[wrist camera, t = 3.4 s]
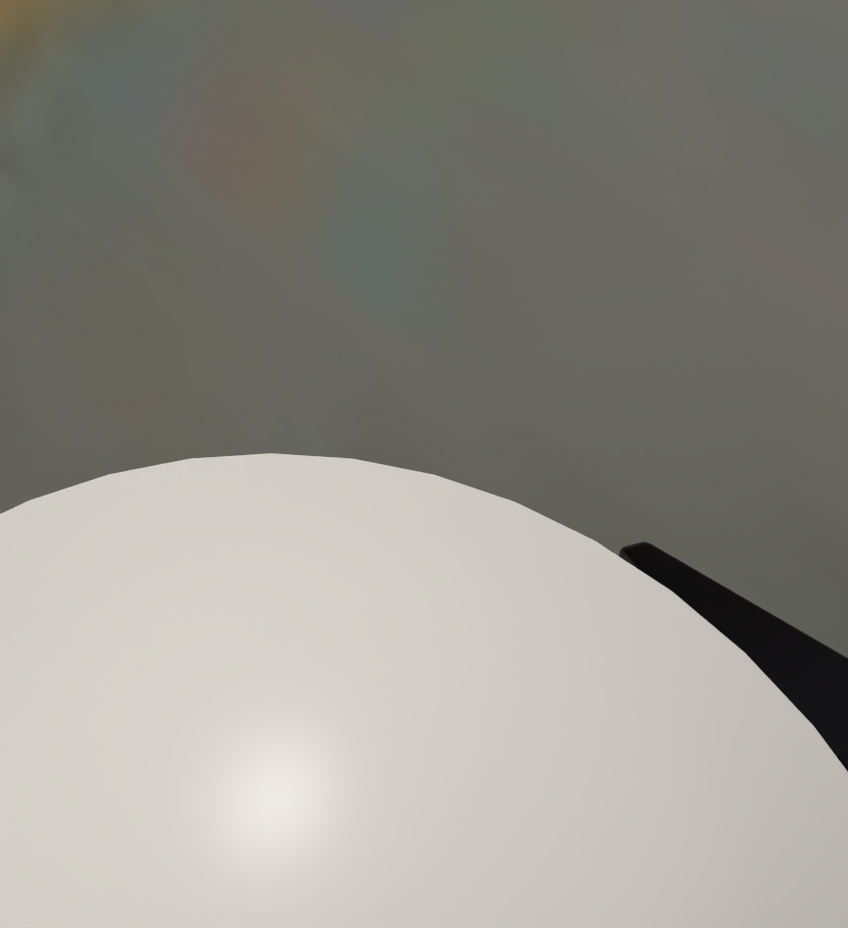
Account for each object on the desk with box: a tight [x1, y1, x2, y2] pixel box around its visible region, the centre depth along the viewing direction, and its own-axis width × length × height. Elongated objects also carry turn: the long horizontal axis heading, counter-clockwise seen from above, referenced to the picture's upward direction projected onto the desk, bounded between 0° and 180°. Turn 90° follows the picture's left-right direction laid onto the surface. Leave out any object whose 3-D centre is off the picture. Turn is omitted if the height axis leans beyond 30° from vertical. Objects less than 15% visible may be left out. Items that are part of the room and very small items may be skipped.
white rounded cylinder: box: [0, 454, 848, 928], centre depth 8 cm, size 6×6×13 cm
